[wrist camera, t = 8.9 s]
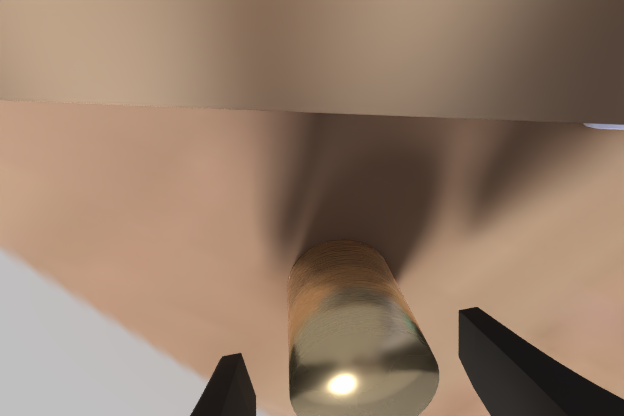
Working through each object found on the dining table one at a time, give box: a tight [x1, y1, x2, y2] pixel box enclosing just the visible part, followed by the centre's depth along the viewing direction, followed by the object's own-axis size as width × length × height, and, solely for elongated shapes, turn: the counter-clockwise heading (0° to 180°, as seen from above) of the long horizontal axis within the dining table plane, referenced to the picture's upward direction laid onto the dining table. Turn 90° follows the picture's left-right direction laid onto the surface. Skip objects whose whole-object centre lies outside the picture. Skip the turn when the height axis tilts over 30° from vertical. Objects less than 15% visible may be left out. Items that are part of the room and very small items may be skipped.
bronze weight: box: [287, 240, 439, 416], centre depth 12 cm, size 4×4×5 cm
